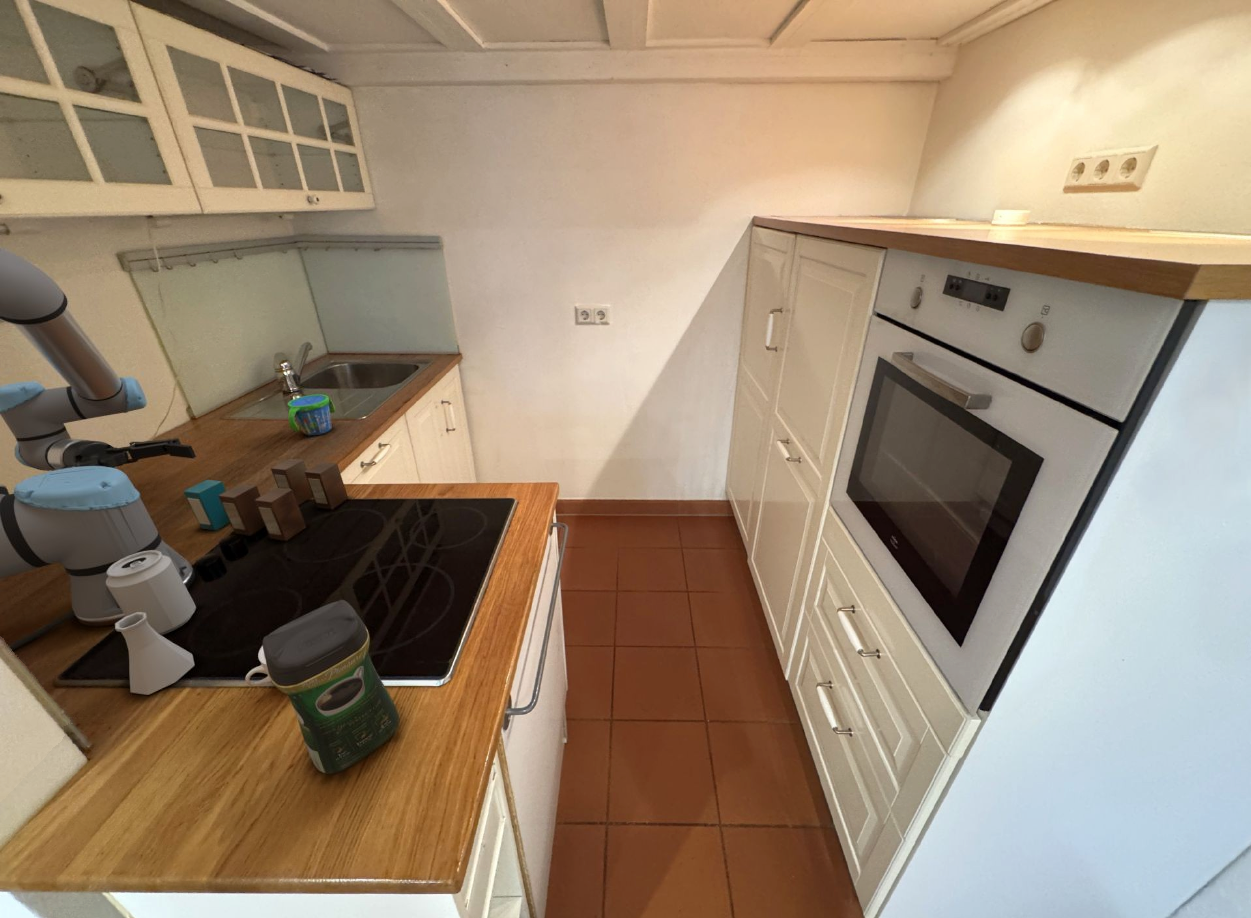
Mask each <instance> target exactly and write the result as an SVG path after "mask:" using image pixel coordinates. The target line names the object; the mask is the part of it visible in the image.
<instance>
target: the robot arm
mask: <svg viewBox="0 0 1251 918" xmlns="http://www.w3.org/2000/svg"><path fill="white" fill-rule="evenodd" d="M68 308H69V300H68V297H67V295H66V293H64V291H63V290H62V288H60V286H59V285H58V283H57V282H56V281H54V279H53V278H51V276H50V275H48V274H47V273H46V272H44V271H43V270H42V269H40V268H39V267H38V266H36V265H35V264H34V263H32V262H30V261H28V259H25V258H23V257H21V256H20V255H18V254H16V253H14V252H12V251H10V250H8V249H6V248H4V247H2V246H0V320H1V321H3V322H5V323H8V324H11V325H13V326H14V327H15V329H16V330H18V332H19V333H20V334H21V335H22V336H23V337H24V338H25V339H26V340H27V342H28V343H29V344H30V345H32V347H33V348H34V349H35V350H36V351H37V352H38V353H39V354H40V355H41V356H42V357H43V358H44V360H46V362H47V363H48V364H49V365H50V366H51V367H52V368H53V369H54V370H55V371H56V373H58V374H59V376H60V377H61V378H62V379H63V380H64V381H65V382H66V383H67V384H68V385H69V386H68V385H67V386H61V387H55V388H45V387H44V386H43V385H42V384H41V383H40V382H38V381H33V380H32V381H31V380H30V381H19V382H12V383H7V384H4V385H0V416H1V418H2V420H3V421H4V423H5V424H6V426H7V427H8V429H9V430H10V431H11V432H10V433H12V435H13V436H14V438H15V439H16V440H15V441H16V442H17V443H16V444H15V446H14V457H15V459H16V460H17V461H18V462H19V463H20V464H22V465H23V466H25V467H28V468H32V469H35V470H38V471H43V472H44V473H42V474H37V475H33V476H31V477H28V478H26V479H22V480H21V481H20V482H18V483H17V484H16V485H15V486H14V487H13V493H10V492H9V490H8V488H7V486H6V485H4V484H1V483H0V579H4V578H7V577H11V576H14V575H18V574H21V573H26V572H29V571H33V570H36V569H40V568H43V567H47V566H51V565H54V564H57V563H59V564H60V565H61V566H62V567H63V569H64V570H65V571H66V573H67V575H68V576H69V582H70V583H69V584H70V595H71V607H72V610H71V611H69V612H67V613H65V614H63V615H62V616H59V617H58V618H56V619H54V620H52V621H50V622H49V623H47V624H45V625H44V626H42V627H40V628H38V629H37V630H35V631H33V632H31V633H30V634H27V635H26V636H24V637H22V638H20V639H18V640H16V641H14V642H12V643H10V644H8V645H7V646H10V648H11V649H12V651H11V652H13V651H15V650H16V649H19V648H20V647H22V646H25V645H26V644H28V643H30V642H32V641H33V640H35V639H37V638H39V637H41V636H42V635H44V634H46V633H48V632H49V631H51V630H53V629H54V628H57V627H58V626H60V625H62V624H63V623H65V622H67V621H69V620H70V619H74V617H76V618H77V620H78V622H79V623H81V624H82V625H85V626H88V627H105V626H111V625H112V626H113V625H115V623H117V622H118V621H120V620H121V619H123V618H124V617H126V616H125V614H124V613H123V611H122V609H121V608H120V606H119V605H118V603H117V601H116V600H115V598H114V596H113V595H112V593H111V592H110V590H109V588H108V587H107V585H106V580H107V578H108V575H107V570H108V569H109V567H110V566H112V565H113V564H114V563H116V562H117V561H119V560H121V559H123V558H125V557H127V556H129V555H132V554H135V553H139V552H143V551H150V550H154V551H159V552H161V553H162V555H164V556H167V557H170V559H171V560H172V562H173V564H174V566H175V568H176V570H177V572H178V574H179V575H180V577H181V579H182V581H183V583H184V585H185V587H186V589H187V590H188V589H189V588H190V587H191V585H192V584H193V582H194V581H195V579H196V572H195V570H194V568H193V566H192V564H191V563H190V562H189V561H188V560H187V559H186V558H185V557H183V556H182V555H181V554H180V553H178V552H177V550H174V548H172V547H171V546H170V545H169V544H167V543H166V542H165V541H164V540H163V538H162V537H161V535H160V532H159V531H158V529H157V527H156V524H155V523H154V522H153V519H152V518H151V516H150V514H149V512H148V510H147V508H146V506H145V504H144V502H143V500H142V499H141V493H140V491H138V489H137V488H135V486H134V484H133V483H132V481H131V480H130V478H129V477H128V476H127V474H126V473H125V472H123V471H122V470H120V469H119V468H118V467H121V466H124V465H127V464H131V463H132V464H133V463H137V462H138V461H139V460H143V459H150V458H156V457H162V456H167V455H169V456H170V457H177V458H185V459H195V458H197V456H196V453H195V451H194V449H193V447H192V445H187V444H182V443H181V441H180V439H179V437H178V438H176V437H175V438H167V439H156V440H147V441H146V440H145V441H131V442H128V444H129V445H128V446H122V447H114V446H113V445H111V444H109V443H107V442H104V441H99V440H89V439H81V438H80V439H79V438H72V437H71V435H70V433H69V432H68V429H67V427H66V426H65V424H68V423H72V422H73V423H74V422H79V421H84V420H85V421H86V420H89V419H95V418H101V417H106V416H107V417H108V416H112V415H113V416H114V415H119V414H128V413H129V412H133V411H138V410H142V409H145V408H146V406H147V399H146V395H145V393H144V390H143V387H142V386H141V384H140V382H139V381H138V380H137V379H136V378H134V377H133V376H128V377H124V376H123V377H122V376H121V377H119V375H118V374H117V373H116V371H115V370H114V369H113V367H112V366H111V365H110V363H109V361H107V360H106V358H105V357H104V355H102V352H100V349H98V347H97V346H96V345H95V343H94V342H93V341H92V340H91V338H90V337H89V336H88V335H87V333H86V332H85V330H84V329H83V328H82V326H81V325H80V324H79V322H78V321H77V320H76V318H74V316H73V315H72V313H71V312H70V311H69V309H68ZM116 467H117V468H116ZM45 471H46V472H45Z"/></svg>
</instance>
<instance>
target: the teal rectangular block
mask: <svg viewBox="0 0 1251 918" xmlns="http://www.w3.org/2000/svg"><path fill="white" fill-rule="evenodd" d="M226 491H227V490H226V488H225V485H224V483H223V481H221V480H214V479H213V480H212V479H206V480H204V481H201V482H199V483H197V484H195V485H193V486H191V487H189V488H187V489H185V490H183V494H184V495H185V498H186V501H187V502H188V504H189V507H190V509H191V511H192V513H193V515H194V517H195V518H196V521H197V522H198V525H199V528H201V529H202V530H209V531H218V530H220V529H221V528H223V527H225V526H226V525H228V524H231V523H230V521H229V519H228V516H227V514H226V512H225V510H224V508H223V505H222V503H221V501H220V499H219V497H218V495H220V494H222V493H224V492H226Z"/></svg>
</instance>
